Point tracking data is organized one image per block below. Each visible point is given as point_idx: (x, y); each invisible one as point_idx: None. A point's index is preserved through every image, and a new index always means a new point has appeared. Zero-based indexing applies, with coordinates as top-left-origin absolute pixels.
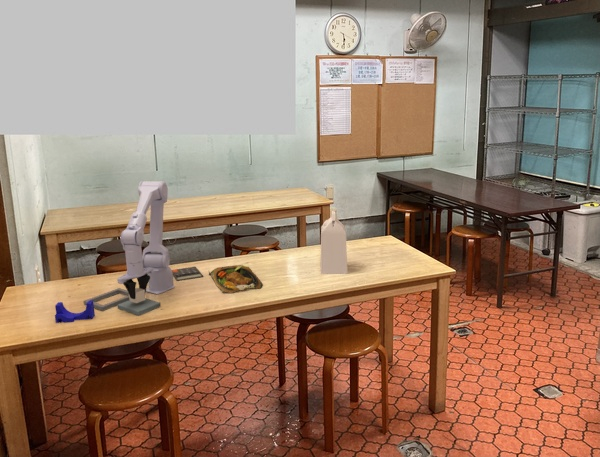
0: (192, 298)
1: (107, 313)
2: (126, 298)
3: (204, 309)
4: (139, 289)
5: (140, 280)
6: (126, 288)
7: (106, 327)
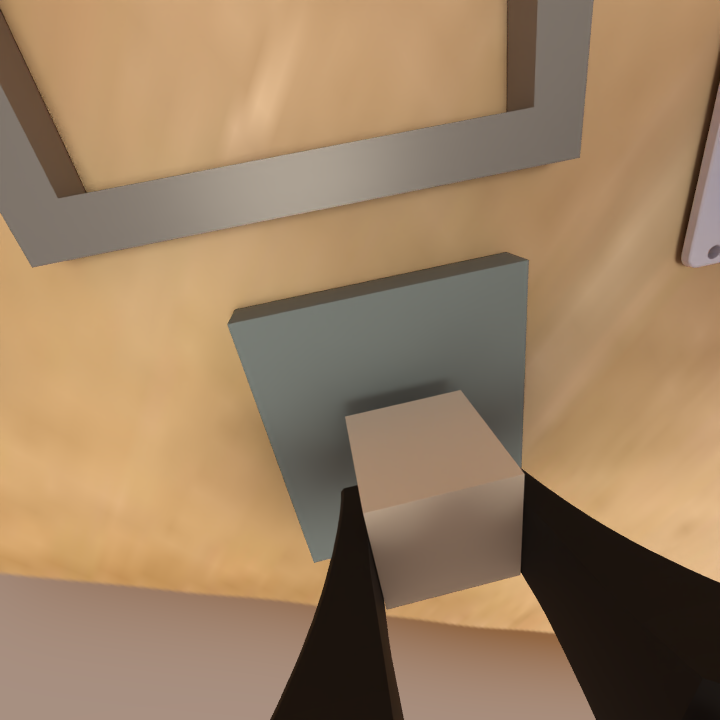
0: (701, 491)
1: (106, 351)
2: (405, 192)
3: None
4: (489, 543)
5: (617, 666)
6: (314, 619)
7: (46, 576)
